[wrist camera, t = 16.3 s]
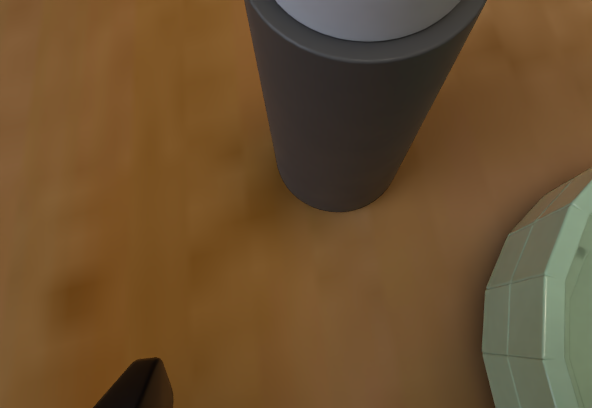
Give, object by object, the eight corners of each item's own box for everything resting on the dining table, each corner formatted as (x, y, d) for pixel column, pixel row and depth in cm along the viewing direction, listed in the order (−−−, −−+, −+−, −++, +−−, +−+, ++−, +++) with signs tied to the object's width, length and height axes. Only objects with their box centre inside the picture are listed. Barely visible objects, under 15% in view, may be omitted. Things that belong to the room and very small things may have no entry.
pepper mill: (349, 237, 18) (429, 32, 6) (251, 163, 19) (144, -145, 7) (422, 143, 19) (622, -200, 7) (325, 78, 20) (348, -325, 8)
